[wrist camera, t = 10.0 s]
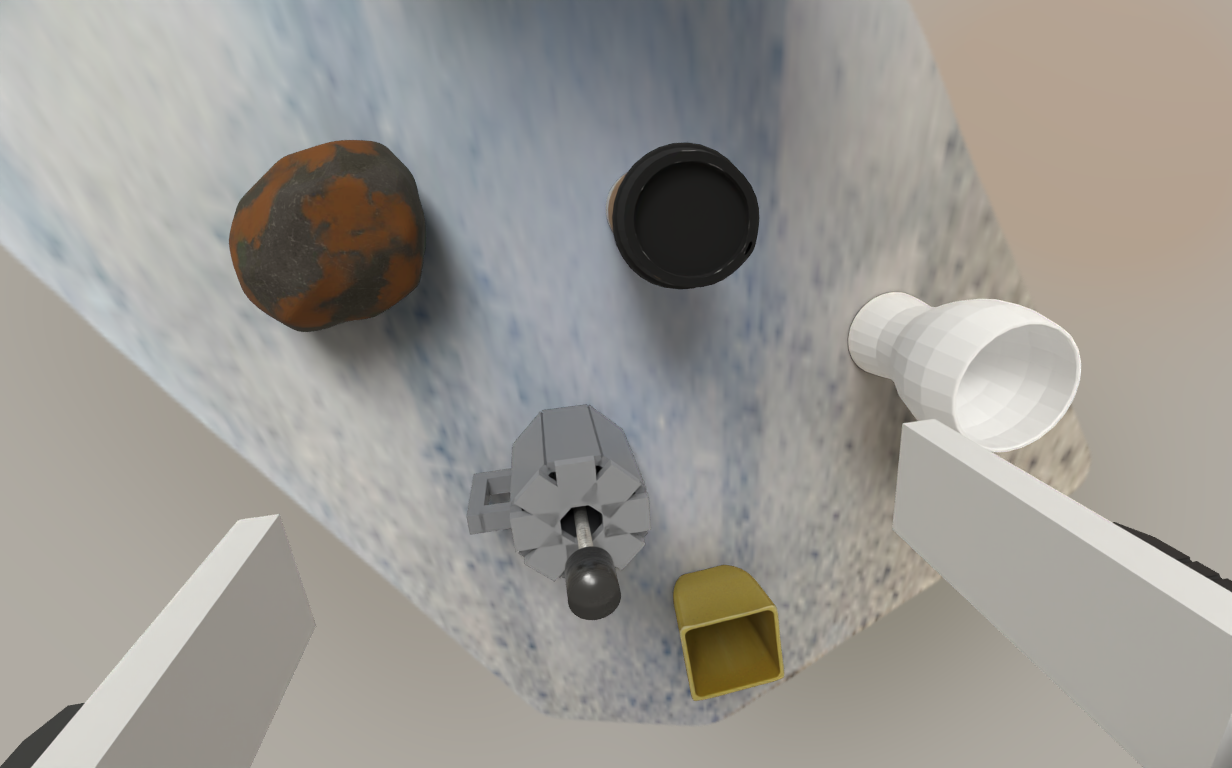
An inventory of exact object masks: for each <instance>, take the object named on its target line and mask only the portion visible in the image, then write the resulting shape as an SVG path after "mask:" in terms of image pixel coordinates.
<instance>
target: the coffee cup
mask: <svg viewBox="0 0 1232 768" xmlns="http://www.w3.org/2000/svg"><path fill="white" fill-rule="evenodd" d="M606 216H607V220H608V224H609V226H610V228H611V230H612V231H613V233H614V237H615V241H616V245H617V247H618V249H619V251H620V253H621V255H622V257H623V259H624V260H625V261H626V263H627V264H628V265H629V267H630V268H631V269H632V270H633V271H634V272H636V273H637V274H638V275H639V276H640V277H641V278H643V279H645V280H647V281H648V282H650V283H652V284H655V285H658V286H661V287H665V288H673V289H690V288H696V287H704V286H708V285H713V284H715V283H717V282H719V281H722V280H724V279H725V278H727V277H728V276H729V275H731V274H732V273H733V272H734V271H736V270H737V269H738V268H739V267H740V266H741V265H742V264H743V263H744V262H745V261H746V260H747V258H748V257H749V256H750V255H751V253H752V252H753V250H754V247H755V244H756V239H757V234H758V227H759V207H758V203H757V198H756V195H755V193H754V191H753V189H752V187H751V185H750V183H749V182H748V181H747V179H746V178H745V176H744V175H743V174H742V173H741V172H740V171H739V170H738V169H737V168H736V167H735V166H734V165H733V164H732V163H731V162H730V161H729V160H728V159H727V158H726V157H725V156H723V155H722V154H720V153H719V152H717V151H716V150H713V149H711V148H708V147H705V146H703V145H700V144H693V143H672V144H669V145H665V146H662V147H659V148H657V149H655V150H653V151H651V152H649V153H647V154H646V155H645V156H643V157H642V158H641V159H640V160H639V161H637V162H636V163H635V164H634V165H633V166H632V168H631V169H630V170H629V171H628V172H627V173H626V174H624V175H623V176H622V177H620V178H619V179H618V180H617V181H616V182H615V184H614V185H613V186H612V188H611V190H610V192H609V194H608V197H607V201H606Z"/></svg>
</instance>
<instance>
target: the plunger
mask: <svg viewBox="0 0 1232 768" xmlns="http://www.w3.org/2000/svg"><path fill="white" fill-rule="evenodd" d="M595 469H596V475H597V474H598V472H599V471H600V470H601V469H602V467H601V466H599V465H597V466H595ZM548 476H549V477H551V478H552V479H554V480H555V481H557V478H556V472H551V473H550V474H549V475H548ZM573 513H574V520H575V527H576V533H577V540H578V547H579V549H578V550H577V551H575V552H574V553H572V554H571V555H570V557H569V558H568V559H567V561H566V564H565V577H566V587H567V596H568V604H569V607H570V609H571V611H572V612H573V613H574V614H575V615H576V616H578V617H580V618H582V619H586V620H598V619H601V618H604V617H606V616H608V615H610V614H611V613H612V612H613V611H615V609H616V608H617V607H618V605H619V603H620V599H621V592H620V588H619V584H618V579H617V575H616V571H615V566H614V562H613V559H612V557H611V555H610V554H609V553H608V552H607V551H606V550H604V549H602V548H599V547H594V546H593V542H592V537H591V532H590V527H589V521H588V516H587V511H586V506H579V507H573Z"/></svg>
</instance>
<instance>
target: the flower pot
mask: <svg viewBox="0 0 1232 768" xmlns="http://www.w3.org/2000/svg"><path fill="white" fill-rule="evenodd" d="M673 600H674V607H675V612H676V617H677V623H678V628H679V633H680V638H681V643H682V649H683V655H684V660H685V665H686V671H687V676H688V681H689V686H690V692H691V696H692V699H693V700H694V701H699V700H704V699H709V698H713V697H717V696H721V695H725V694H728V693H732V692H736V691H740V690H743V689H747V688H751V687H755V686H758V685H762V684H767V683H770V682H774V681H776V680H779V679H781V678H783V677H784V665H783V658H782V649H781V640H780V631H779V619H778V611H777V608H776V606H775V605H774V603H773V602H772V601H771V599H770V598H769V597H768V596H767V594H766V593H765V592H764V590H763V589H762V588H761V587H760V585H759V584H758V583H757V581H756V580H755V579H754V578H753V577H752V576H751V575H750V574H749V573H747V572H746V571H744V570H742V569H740V568H737V567H734V566H729V565H721V566H717V567H713V568H709V569H705V570H701V571H697V572H693V573H688V574H684V575H682V576H680V577H679V579H678V580H677V582H676V584H675V587H674V592H673Z"/></svg>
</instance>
